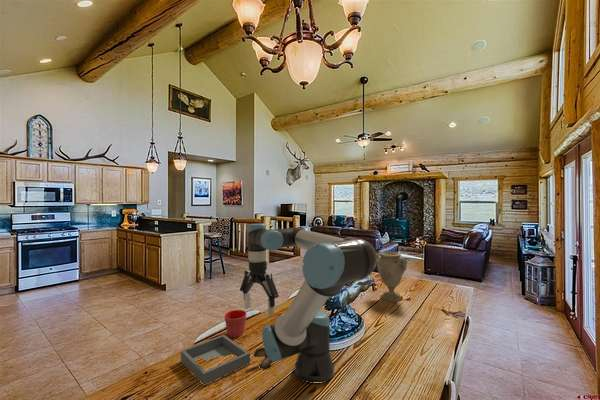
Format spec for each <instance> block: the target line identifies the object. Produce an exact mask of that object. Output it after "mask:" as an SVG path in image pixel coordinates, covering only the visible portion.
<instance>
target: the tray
mask: <svg viewBox="0 0 600 400" xmlns="http://www.w3.org/2000/svg"><path fill="white" fill-rule="evenodd" d="M231 354H234V355H236V356H237V357H236V358H234V359H231V360H229V361H227V362H225V363H223V364H220V365H218V366H216V367H214V368H211V369H209V370H207V371H205V370H204V369H203V368H202V367H201V366H200V365H199V364H198V363H197V362H196V361H195V359H197V358H198V357H199V358H202V357H203V359H205V360H206V361H208V360H210V359H213V358H216V357H221V356H227V355H231ZM211 357H213V358H211ZM180 362H181V363H182V364H183V365H184V364H185V365H184V367H185V368H186V367H187V368H188V369H189V370H191V372H192V373H194V375H195V376H196V377H197V378H198V379H199V380H200V381H201V382H202V383H203V384H204V385H205V384H207V383H209V382H211V381H214V380H216V379H218V378H220V377H222V376H224V375H226V374H228V373H231V372H233V371H234V370H237V369H239V368H241V367H243V366H245V365H247V364H249V363H250V364H251V353H250V352H249V351H248V350H246V349H245V348H244V347H242V346H241V345H239V344H238V343H237V342H235V341H233V339H231V338H229V337H228V336H227V335H225V334H222V335H219V336H217V337H214V338H211V339H209V340H205V341H203V342H201V343H197V344H195V345H191V346H190V347H187V348H184V349H181V350H180ZM250 364H249V365H250ZM247 366H248V365H247ZM245 367H246V366H245ZM187 368H186V369H187ZM243 368H244V367H243ZM188 369H187V370H188ZM241 369H242V368H241ZM189 370H188V371H189ZM239 370H240V369H239ZM237 371H238V370H237ZM191 372H190V373H191ZM192 373H191V374H192ZM233 373H234V372H233ZM231 374H232V373H231ZM194 375H193V376H194ZM195 376H194V377H195ZM196 377H195V378H196ZM197 378H196V379H197ZM216 381H217V380H216ZM214 382H215V381H214Z"/></svg>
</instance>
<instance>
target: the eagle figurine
mask: <svg viewBox="0 0 600 400" xmlns="http://www.w3.org/2000/svg"><path fill="white" fill-rule="evenodd" d="M252 355H253V357H255V358H263V359H262V361H261V362H260V363H259V364H258V365H259V366H260V368H263V369H262V370H266V369H268V367H269V366H270V365H271V364H272V363H274V361H272V360H270V358H269V357H268V355H267V353H266V351H265V348H264V347H259V348H257V349H256V350H255V351H254V352H253V354H252ZM263 360H264V361H263Z"/></svg>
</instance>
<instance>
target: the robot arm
mask: <svg viewBox="0 0 600 400" xmlns="http://www.w3.org/2000/svg"><path fill="white" fill-rule="evenodd" d="M247 242H248V243H247V244H248V245H247V247H248V248H247V249H248V255H247V256H248V260H249V261H248V269H247V270H244V275H243V280H242V282H241V285H240V287H239V291H240V292H242V294H243V300H244V310H249V309H250V308H251V307H252V306H251V291H250V290H251V289H252V287H253V286H254V284H258V285H260V286H261V287H262V288H263V291H264V292H265V293H266V296H267V297H268V299H267V316H268V317H270V316H273V315H274V314H275V307H276V305H275V304H276V302H275V299H276V298H277V299H278V297H280V295H279V293H278V290H277V288H276V285H275V281H274V278H273V273H267V272H266V271H267V268H268V267H267V266H268V263H267V250H268V251H276V250H279V249H280V248H281V249H282V248H288V247H297V248H299V249H303V250H305V253H304V256H303V259H302V264H303V265H302V267H301V268H302V274H303V277H304V282H302V284H301V286H300V288H299V289H298V292H297V293H296V295H295V297H294V298H293V300H292V301H291V303H290V304H289V306H288V308H287V310H286V311H285V312H284V313H282V314H279V316H278V317H277V318H276V320H275V321H274V322H273V324H271V325H270V324H268V325H267V326H264V327H263V328H262V335H261V336H262V344H263V348H265V351H266V353H267V355H268V357H269V358H270V360H272V361H273V363H274V362H275V363H276V362H280V361H282V360H285V359H288V358H290V357H292V356H295V355H297V357H296V361H295V364H294V373H295V376H296V375H297V376H296V377H297V378H298V379H299V380H300V379H301V380H300V381H302V380H304V381H308V382H324V381H327V382H328V380H329V379H330V380H331V379H332V378H333V377H334V375H335V364H334V362H333V360H332V359H333V358H332V356H331V352H330V332H331V331H330V328H331V324H330V318H329V317H330V316H329V314H328V313H326V312H325V311H323V310H321V309H322V308H323V306H324V305H325V303H326V302H327V300H329V298H333V297H336V296H338V294H340V292H341V291H342V289H344V287H345V286H346V284H348V283H351V282H355V281H357V280H362V279H365V278H368V276H370V275H371V274H372V273H373V272H374V271H375V268H376V266H377V254H376V253H377V251H376V249H375V247H374V246H373V245H372V244H371V243H370V242H369V241H367V240H365V239H361V238H357V237H351V236H348V237H345V238H342V237H338V236H334V235H333V236H332V235H330V234H329V235H328V234H324V233H321V232H316V231H311V230H309V229H308V227H304V226H297V227H289V228H287V227H286V228H275V229H274V228H273V229H267V226H266V224H265V223H250V224H249V225H248V226H247ZM330 380H329V381H330ZM304 381H303V382H304ZM324 383H325V382H324Z"/></svg>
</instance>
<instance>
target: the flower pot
mask: <svg viewBox="0 0 600 400" xmlns="http://www.w3.org/2000/svg"><path fill="white" fill-rule="evenodd" d="M246 320H247V312H246V311H245V310H244V309H243V310H242V309H233V310H229V311H226V313H225V314H224V322H225V326H226V327H225V328H226V333H227V337H228V336H229V337H231V338H238V336H239V337H241V336H242V335H244V332H245V327H246Z"/></svg>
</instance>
